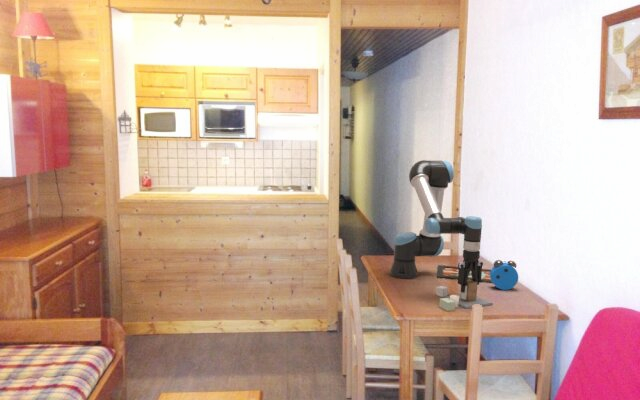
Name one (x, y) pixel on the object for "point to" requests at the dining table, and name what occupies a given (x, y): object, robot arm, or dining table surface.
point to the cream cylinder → (455, 300)
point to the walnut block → (471, 291)
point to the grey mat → (469, 304)
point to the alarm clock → (504, 275)
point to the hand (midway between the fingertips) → (468, 298)
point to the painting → (454, 273)
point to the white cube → (441, 291)
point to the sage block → (447, 304)
